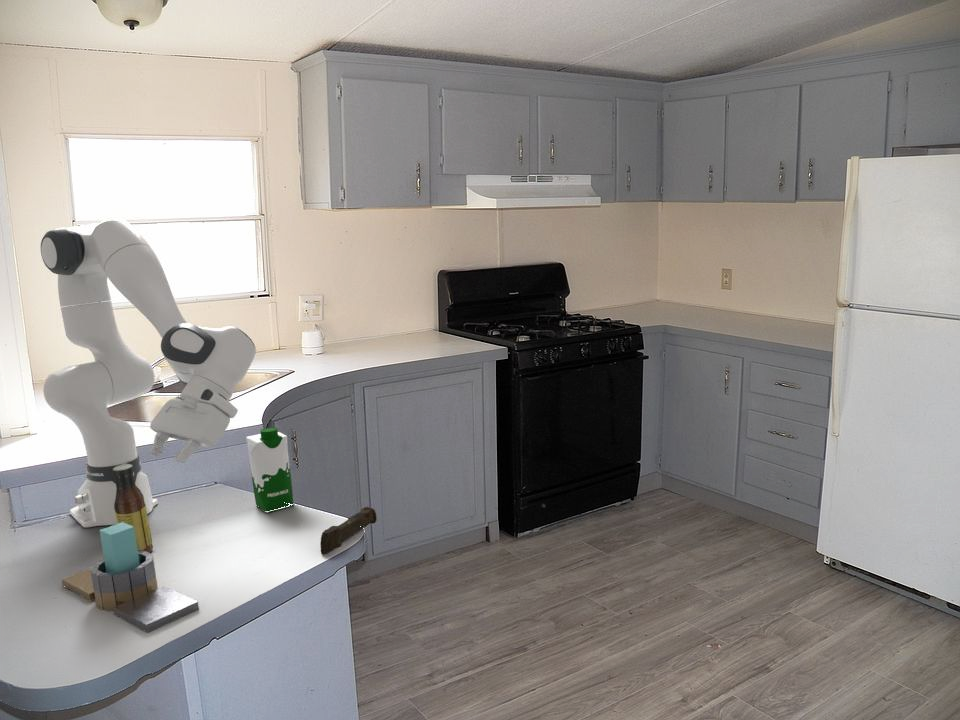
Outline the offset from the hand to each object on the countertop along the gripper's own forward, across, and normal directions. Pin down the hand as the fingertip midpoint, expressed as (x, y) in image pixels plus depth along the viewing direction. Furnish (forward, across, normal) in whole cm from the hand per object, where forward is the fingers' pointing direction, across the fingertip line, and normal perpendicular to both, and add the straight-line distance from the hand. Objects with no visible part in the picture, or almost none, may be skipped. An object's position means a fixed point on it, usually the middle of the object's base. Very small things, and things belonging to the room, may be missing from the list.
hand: (166, 457), depth 161 cm
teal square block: (+26, 0, +9) cm, 27 cm away
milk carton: (-7, -16, +42) cm, 45 cm away
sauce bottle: (+17, -19, +18) cm, 31 cm away
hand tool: (-4, +16, +39) cm, 43 cm away
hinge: (+26, 0, +9) cm, 27 cm away
